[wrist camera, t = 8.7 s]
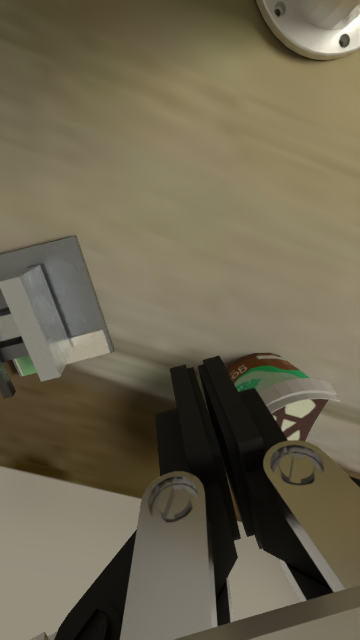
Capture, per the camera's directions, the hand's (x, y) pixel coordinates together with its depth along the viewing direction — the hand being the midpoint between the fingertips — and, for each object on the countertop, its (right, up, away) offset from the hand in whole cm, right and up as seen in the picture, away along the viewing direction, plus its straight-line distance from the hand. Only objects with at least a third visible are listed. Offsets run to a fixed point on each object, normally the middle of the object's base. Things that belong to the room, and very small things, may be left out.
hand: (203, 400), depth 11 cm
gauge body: (-12, +4, +19) cm, 23 cm away
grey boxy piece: (-16, +2, +18) cm, 24 cm away
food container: (+5, -4, +24) cm, 25 cm away
